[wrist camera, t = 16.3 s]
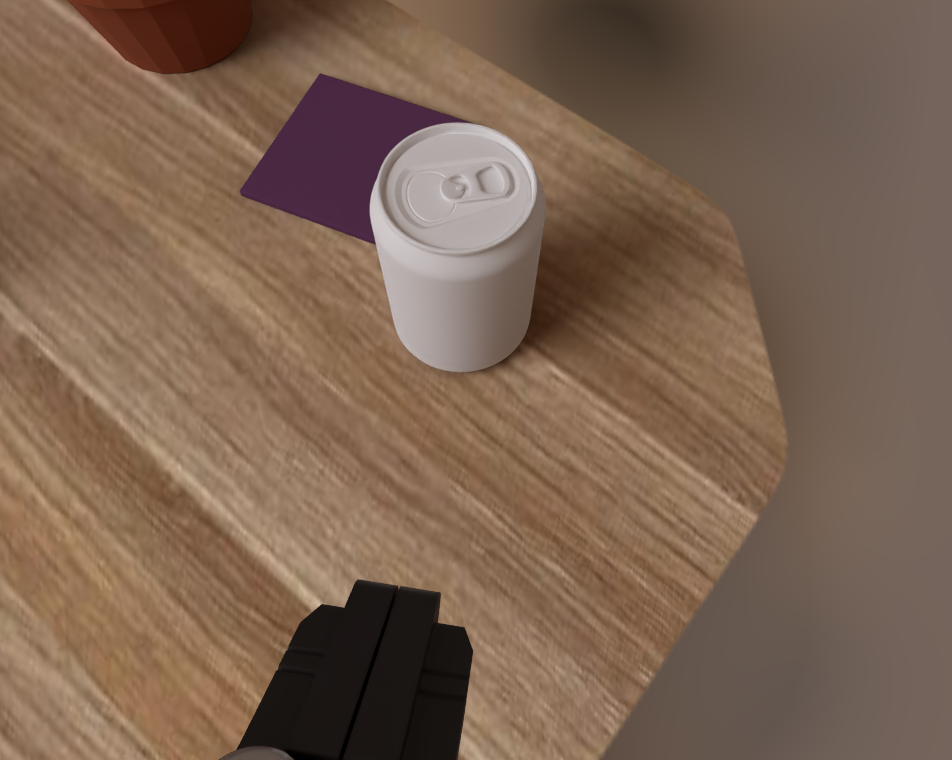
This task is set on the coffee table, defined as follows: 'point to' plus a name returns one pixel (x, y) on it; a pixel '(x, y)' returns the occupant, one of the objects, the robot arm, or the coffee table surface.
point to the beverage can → (459, 243)
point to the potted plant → (169, 30)
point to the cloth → (335, 154)
